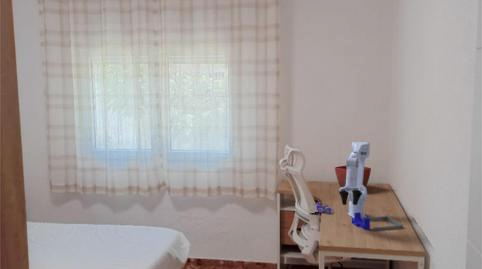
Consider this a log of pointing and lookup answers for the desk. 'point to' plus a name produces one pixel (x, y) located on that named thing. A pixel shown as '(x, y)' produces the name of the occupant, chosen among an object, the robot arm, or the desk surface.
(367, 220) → the cable clip
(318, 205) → the toy race car
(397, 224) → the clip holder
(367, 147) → the robot arm
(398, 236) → the desk surface
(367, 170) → the plant pot
